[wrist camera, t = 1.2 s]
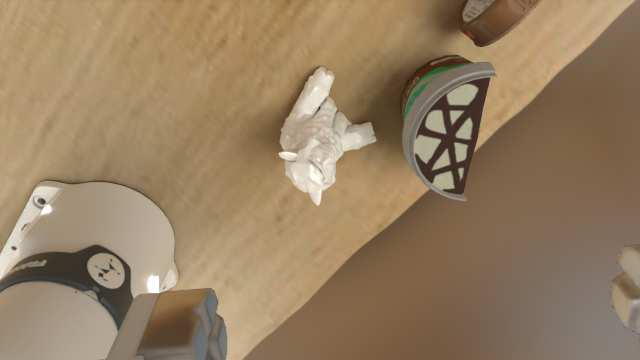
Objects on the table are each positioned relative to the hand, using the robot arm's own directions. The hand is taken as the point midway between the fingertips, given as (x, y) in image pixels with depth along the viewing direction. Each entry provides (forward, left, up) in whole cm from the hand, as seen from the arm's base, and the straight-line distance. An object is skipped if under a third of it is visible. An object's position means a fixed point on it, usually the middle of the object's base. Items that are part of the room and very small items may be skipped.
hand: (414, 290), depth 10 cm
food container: (0, -13, -38) cm, 40 cm away
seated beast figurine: (-9, -8, -38) cm, 40 cm away
